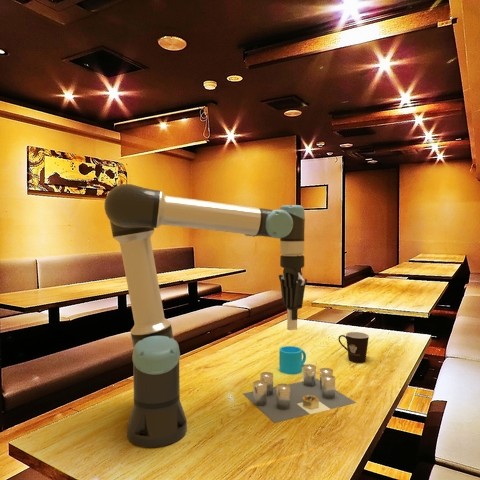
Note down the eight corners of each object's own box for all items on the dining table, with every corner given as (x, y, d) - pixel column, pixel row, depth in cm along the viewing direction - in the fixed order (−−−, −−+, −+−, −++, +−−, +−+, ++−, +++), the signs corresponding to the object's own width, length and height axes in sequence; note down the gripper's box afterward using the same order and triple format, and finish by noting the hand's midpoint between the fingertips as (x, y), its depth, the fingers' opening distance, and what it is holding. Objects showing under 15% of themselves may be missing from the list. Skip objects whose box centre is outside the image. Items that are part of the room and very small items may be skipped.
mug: (290, 378, 137) (290, 354, 136) (274, 371, 143) (274, 349, 143) (313, 369, 144) (313, 347, 144) (297, 363, 151) (297, 342, 150)
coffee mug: (373, 362, 152) (373, 336, 151) (355, 365, 148) (355, 339, 148) (354, 353, 162) (354, 329, 162) (336, 355, 159) (336, 331, 159)
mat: (274, 425, 105) (274, 422, 105) (242, 395, 123) (242, 393, 123) (356, 404, 116) (356, 402, 116) (316, 380, 135) (316, 378, 135)
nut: (307, 410, 112) (307, 403, 112) (299, 403, 116) (299, 397, 116) (322, 406, 114) (322, 399, 114) (313, 400, 118) (313, 393, 118)
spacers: (265, 414, 109) (265, 393, 109) (243, 394, 122) (243, 375, 122) (345, 395, 121) (345, 376, 121) (318, 379, 134) (318, 362, 133)
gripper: (314, 255, 118) (314, 333, 119) (291, 252, 130) (291, 323, 131) (293, 256, 115) (293, 336, 116) (271, 253, 127) (271, 325, 128)
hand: (292, 329), depth 124 cm, fingers closed
